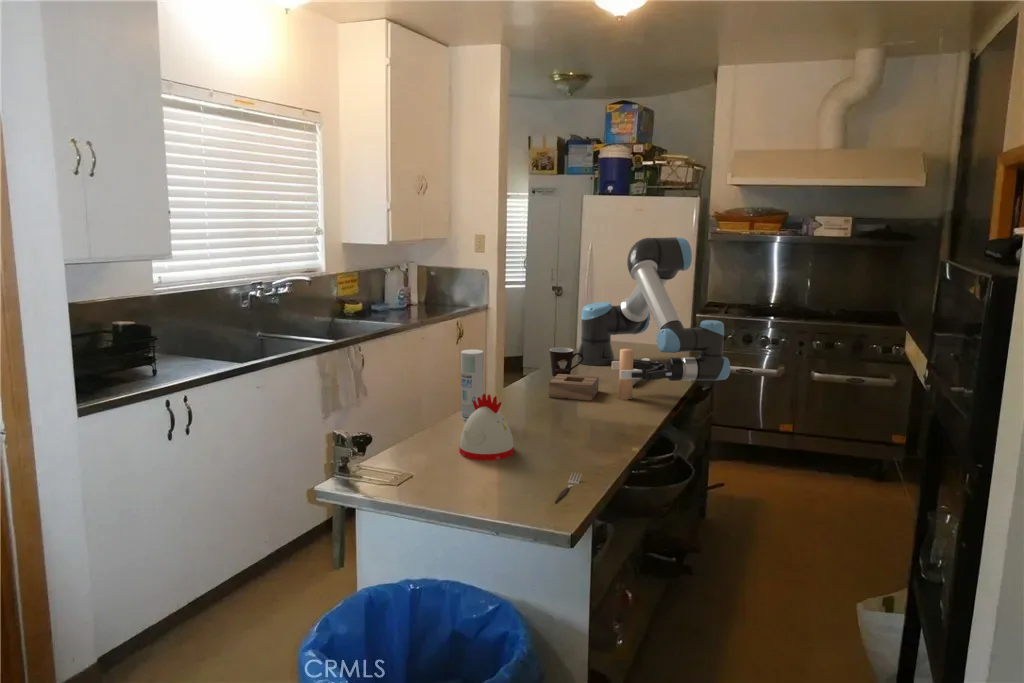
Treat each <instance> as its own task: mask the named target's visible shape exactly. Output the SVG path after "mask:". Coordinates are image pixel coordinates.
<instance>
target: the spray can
mask: <svg viewBox="0 0 1024 683" xmlns="http://www.w3.org/2000/svg"><path fill="white" fill-rule="evenodd" d="M484 356H485V355H484V351H483V350H481V349H465V350H461V351H460V369H461V370H460V372H461V376H460V377H461V381H460V382H461V384H460V385H461V386H460V387H461V419H462V421H465V422H466V421H467V420H468V418H469V417H470V415H471V414H472V413H473V412H474V411H476V410H475V407H474V405H473V401H476V403H477V405H478V400H477V398H478V397H480V398H481V400H482V395H483V394H484Z"/></svg>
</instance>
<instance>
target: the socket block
mask: <svg viewBox="0 0 1024 683" xmlns="http://www.w3.org/2000/svg"><path fill="white" fill-rule="evenodd" d="M596 393H599V376H598V375H597V376H595V375H581V374H580V375H579V374H570V375H567V374H557V375H556V376H555V377H554V378H553V377H552V379H551V380H550V381H549V384H548V398H550V397H556V398H555V399H564V398H568V399H567V400H577V399H578V401H579V400H581V401H590V400H592V401H593V399H594V398H595V396H596V395H597V394H596Z"/></svg>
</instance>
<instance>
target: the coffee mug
mask: <svg viewBox="0 0 1024 683" xmlns="http://www.w3.org/2000/svg"><path fill="white" fill-rule="evenodd" d="M549 354H550V355H549V356H550V368H551V375H552V376H554V377H555V376H556V375H557V374H567V375H571V371H572V370H573V369H575V368H577V367H578V366H580V365H581V362H582V361H583V355H582V354H580V353H578V352H576V353H574V349H573V348H569V347H553V348H552V347H551V348H550V349H549ZM577 355H581V356H582V360H581V361H580V362H579V363H578V362H577V363H576V364H575V365H574V366H572V364H573V359H574V358H575V356H577ZM552 376H551V377H552Z"/></svg>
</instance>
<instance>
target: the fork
mask: <svg viewBox="0 0 1024 683" xmlns="http://www.w3.org/2000/svg"><path fill="white" fill-rule="evenodd" d="M576 473H577V475H576ZM573 474H574V475H573ZM579 474H580V475H579ZM582 474H583V472H581V473H580V472H579V471H578V472H577V471H575V472H574V471H573V470H572V472H571V474H570V477H569V479H568V481H567V483H570V484H567V487H566V488H564V489H563V490H561V491H560V493H559V494H558V497H557V498H556V500H555V501H554V503H555V504H557V503H558V502H559V501H561V499H562V498H564V497H565V496H566V495H567V494H568V492H569V490H570V488H571V487H573V484H580V481H581V477H582ZM575 476H576V477H575ZM572 483H573V484H572Z"/></svg>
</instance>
